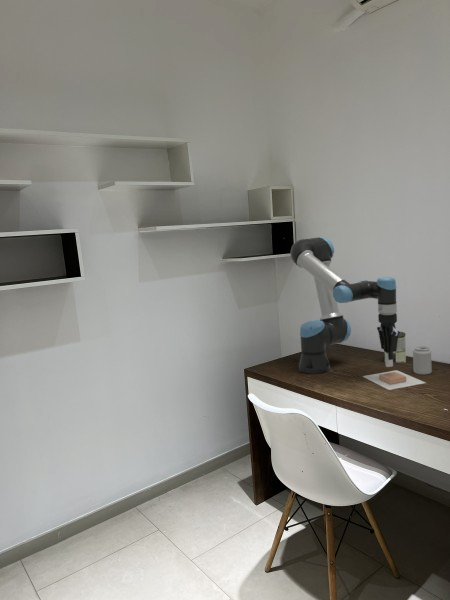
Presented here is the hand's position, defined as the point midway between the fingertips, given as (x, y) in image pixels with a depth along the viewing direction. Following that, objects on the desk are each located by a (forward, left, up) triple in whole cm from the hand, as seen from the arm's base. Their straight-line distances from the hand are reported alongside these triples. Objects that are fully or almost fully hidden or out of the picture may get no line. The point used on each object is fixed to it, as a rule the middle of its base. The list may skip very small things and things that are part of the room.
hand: (389, 366), depth 201 cm
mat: (+1, +1, -7) cm, 7 cm away
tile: (-2, 0, -5) cm, 5 cm away
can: (-1, +18, -7) cm, 19 cm away
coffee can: (-23, +19, -7) cm, 31 cm away
